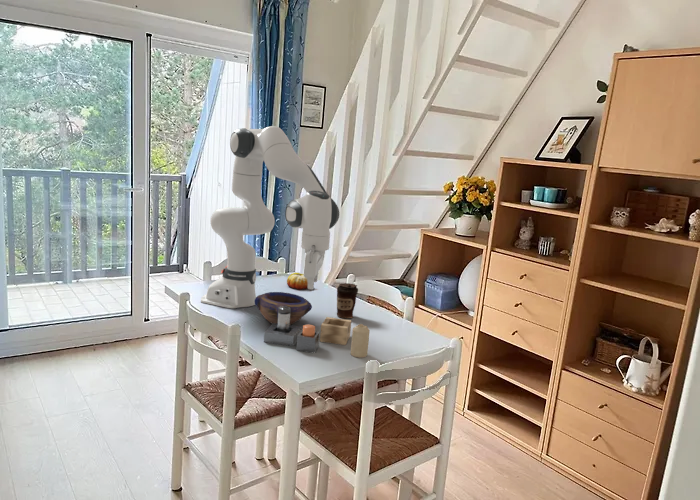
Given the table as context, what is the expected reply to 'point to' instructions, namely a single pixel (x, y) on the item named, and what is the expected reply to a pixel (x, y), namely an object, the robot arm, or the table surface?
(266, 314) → the bowl
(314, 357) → the table surface
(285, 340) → the socket block
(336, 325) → the wooden box
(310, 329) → the button
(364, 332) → the candle
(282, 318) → the steel peg
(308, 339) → the button housing
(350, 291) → the coffee cup
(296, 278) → the fruit
